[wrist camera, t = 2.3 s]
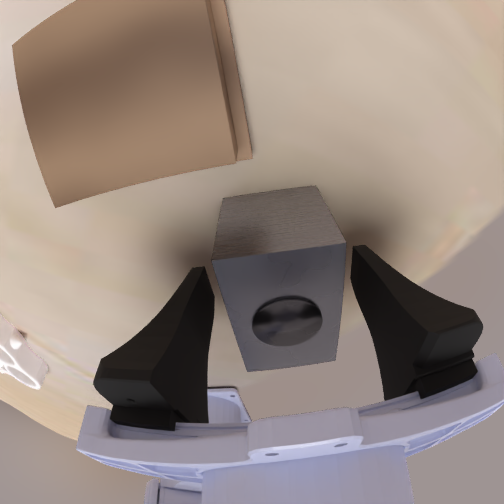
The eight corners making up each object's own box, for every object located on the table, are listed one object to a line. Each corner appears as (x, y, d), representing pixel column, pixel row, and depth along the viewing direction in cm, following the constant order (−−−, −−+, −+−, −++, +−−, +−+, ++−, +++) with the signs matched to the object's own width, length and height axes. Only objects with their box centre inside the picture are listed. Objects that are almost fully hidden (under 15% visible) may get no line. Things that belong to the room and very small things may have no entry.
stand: (252, 152, 12) (253, 174, 9) (82, 192, 12) (52, 220, 10) (218, -31, 7) (209, -59, 4) (43, 40, 7) (4, 42, 5)
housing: (315, 184, 13) (347, 245, 9) (318, 292, 17) (336, 362, 13) (223, 197, 13) (210, 263, 9) (247, 301, 17) (247, 374, 13)
